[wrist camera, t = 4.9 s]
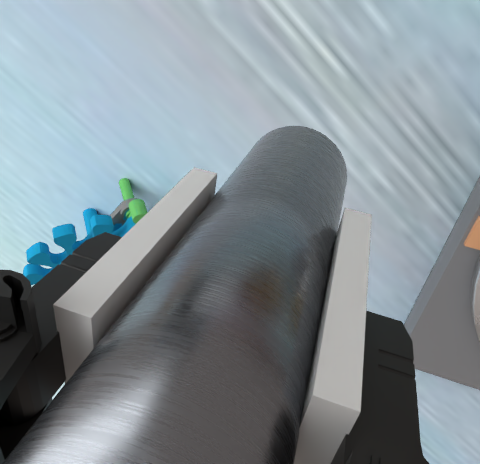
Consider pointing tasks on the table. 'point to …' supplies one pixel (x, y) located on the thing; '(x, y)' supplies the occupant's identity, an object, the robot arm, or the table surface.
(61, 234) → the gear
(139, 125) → the table surface
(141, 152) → the table surface
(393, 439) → the robot arm
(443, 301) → the nut plate
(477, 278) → the silver disc with box
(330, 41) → the table surface
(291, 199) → the pin
